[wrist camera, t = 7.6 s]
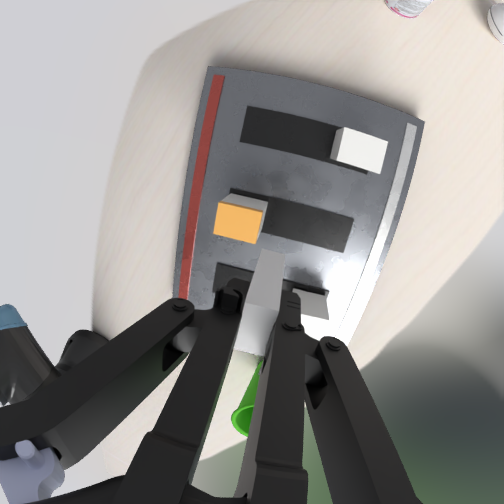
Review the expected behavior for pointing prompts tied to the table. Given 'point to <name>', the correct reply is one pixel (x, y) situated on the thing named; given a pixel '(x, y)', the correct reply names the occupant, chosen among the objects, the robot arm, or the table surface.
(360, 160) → the block
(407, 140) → the panel
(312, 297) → the block
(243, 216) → the block
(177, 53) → the table surface
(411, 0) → the pill bottle
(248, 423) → the cup
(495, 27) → the white oval ovoid
